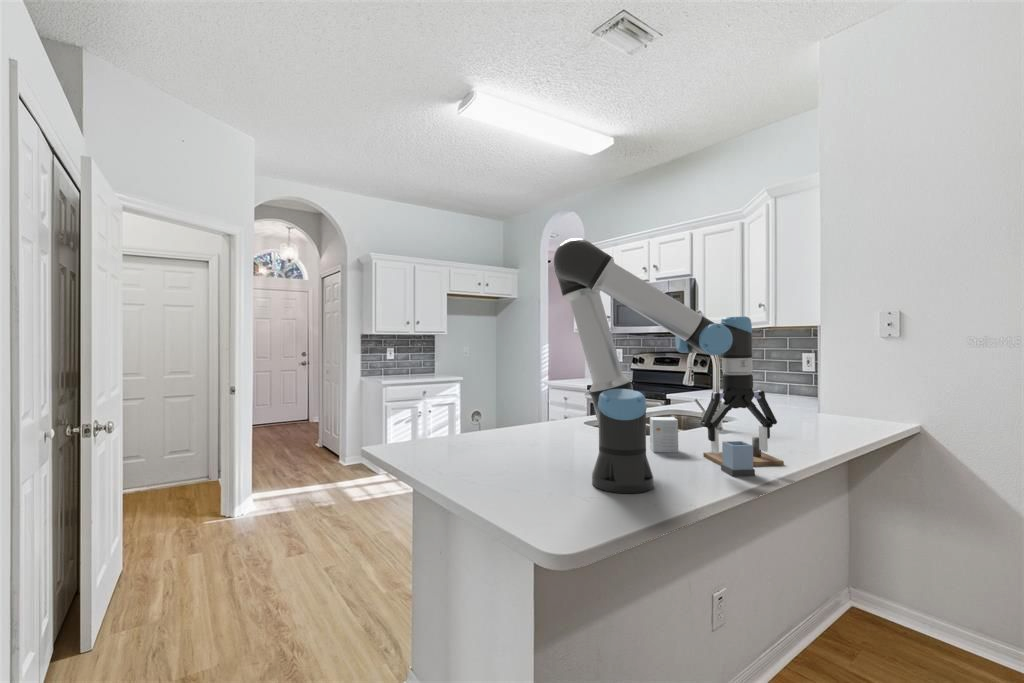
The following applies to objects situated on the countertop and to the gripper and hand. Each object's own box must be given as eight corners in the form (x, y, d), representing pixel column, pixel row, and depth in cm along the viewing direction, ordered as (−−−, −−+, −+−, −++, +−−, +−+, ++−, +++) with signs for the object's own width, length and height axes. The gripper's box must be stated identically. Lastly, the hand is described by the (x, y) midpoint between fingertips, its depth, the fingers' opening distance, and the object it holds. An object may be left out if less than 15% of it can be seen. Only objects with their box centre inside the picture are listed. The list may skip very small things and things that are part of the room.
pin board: (722, 466, 140) (722, 443, 140) (703, 456, 152) (703, 434, 152) (783, 465, 141) (783, 441, 141) (759, 454, 153) (759, 433, 153)
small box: (674, 448, 163) (674, 416, 162) (678, 452, 157) (678, 419, 157) (649, 448, 163) (649, 416, 163) (652, 452, 158) (652, 419, 158)
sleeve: (732, 476, 131) (732, 446, 131) (720, 470, 137) (720, 441, 137) (754, 475, 131) (754, 445, 131) (742, 469, 137) (742, 440, 137)
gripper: (699, 376, 129) (701, 457, 129) (790, 372, 131) (792, 452, 131) (686, 374, 136) (688, 450, 137) (773, 371, 138) (775, 446, 138)
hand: (739, 451), depth 134 cm, fingers open, 13 cm apart
